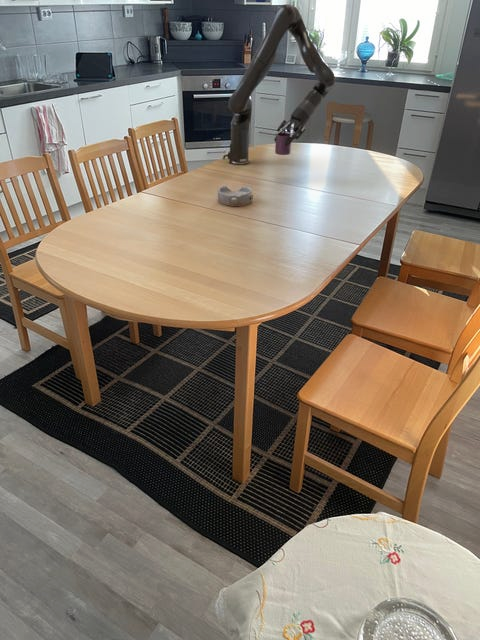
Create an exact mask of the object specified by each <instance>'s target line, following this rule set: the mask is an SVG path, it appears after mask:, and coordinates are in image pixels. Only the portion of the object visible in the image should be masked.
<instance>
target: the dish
mask: <svg viewBox="0 0 480 640" xmlns="http://www.w3.org/2000/svg"><path fill="white" fill-rule="evenodd" d="M217 199H218V201H219V203H221V204H223V205H226V206H232V207H239V206H246V205H248V204H250V203H252V200H253V199H254V194H253V192H252V189H251V188H250V187H248V186H245V185H242V186H241V187H240V188H239V189H238V190H231V189H230V188H228V186H226V185H224V186H220V187H218V188H217Z"/></svg>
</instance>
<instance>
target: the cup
mask: <svg viewBox="0 0 480 640" xmlns="http://www.w3.org/2000/svg"><path fill="white" fill-rule="evenodd" d="M290 134H291V133H283V132H282V133H278V132H277V133H276V134H275V137H276V142H275V146H274V149H275V151H274V152H275V153H274V154H276V155H279V156H289V155H291V152H292V151H291V150H292V142H291V143H290V145H289V146H286V145H285V144H284V143H285V141H286V140H287V139H288V137H290Z"/></svg>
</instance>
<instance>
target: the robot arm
mask: <svg viewBox="0 0 480 640" xmlns="http://www.w3.org/2000/svg"><path fill="white" fill-rule="evenodd" d="M302 17H303V16H302V15H301V12H300V10H299V8H297V6H295V5H292V4H282V5H280V6H279V7H278V8H277V9H276V11H275V13H274V15H273V17H272V19H271V22H270V25H269V27H268V29H267V31H266V33H265V35H264V37H263V39H262V41H261V42H260V44H259V46H258V48H257V50H256V51H255V52H254V55H253V57H252V59H251V60H250V62H249V64H248V67H247V68H246V70H245V73H244V75H243V77H242V79H241V81H240V82H239V84H238V86H237V87H236V89H235V90H234V91H233V93H232V94H231V96H230V97H229V100H228V108H229V111H230V112H231V113H232V114H233V117H232V119H231V122H230V144H229V151H228V152H227V154H224V155H223V156H222V159H223V160H225V159H226V157H227V160H229V164H233V165H247V164H249V162H250V161H249V155H250V154H249V153H250V125H251V121H252V112H253V111H252V110H253V102H252V97H251V96H252V94H253V92H254V91H255V89H256V88H257V87H258V86H259V85H260V84H261V83H262V81H263V80H264V79H265V78H266V77H267V75H268V74H269V72H270V70H271V68H272V67H273V65H274V63H275V60H276V57H277V54H278V53H277V52H278V48H279V45H280V43H281V41H282V39H283V38H284V36H285V34H286V33H287V31H288V32H289V33H290V35H291V36H292V37H293V38H294V40H295V42H296V44H297V47H298V50H299V53H300V56H301V58H302V60H303V62H304V64H305V66H306V68H307V69H308V71H309V72H310V73H311V74H314V75H315V77H316V79H318V80H317V81H316V83H315V84H314V85H313V86H312V88H311V89H310V90H309V91H308V93H306V95H305V96H304V98H303V99H302V100H301V101H300V102H299V103H298V104H297V106H296V108H295V109H294V110H293V111H292V113H291V114H290V119H289V120H288V121H287V120H286V119H284V120H282V122H281V123H280V124H279V126H278V127H277V129H276V131H277V133H289V134H290V137H288V139H287V140H286V141H285V143H284V144H285V145H286V146H289V145H290V143H291V144H292V142H293V141H294V140H296V141H297V140H299V138H300V137H301V136H302V135H303V134H304V133H305V131H306V127H305V125H306V124H307V123H308V121H309V120H310V119H311V118H312V116H313V115H314V113H315V111H316V110H317V108H318V107H319V106H320V104H321V103H322V101H323V100H324V98H325V97H326V96H328V94H329V92H330V91H331V90H332V88H333V87H334V85H335V83H336V76H335V73H334V72H333V70H332V69H331V67H330V66H329V65H328V63H326V62H325V61H324V59H323V57H322V55H321V54H320V52H319V51H318V49H317V47H316V46H315V44H314V42H313V40H312V38H311V37H310V35H309V31H308V30H307V27H306V25H305V22H304V19H303V18H302ZM273 140H274V142H275V143H276V136H275V137H274V139H273Z"/></svg>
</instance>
